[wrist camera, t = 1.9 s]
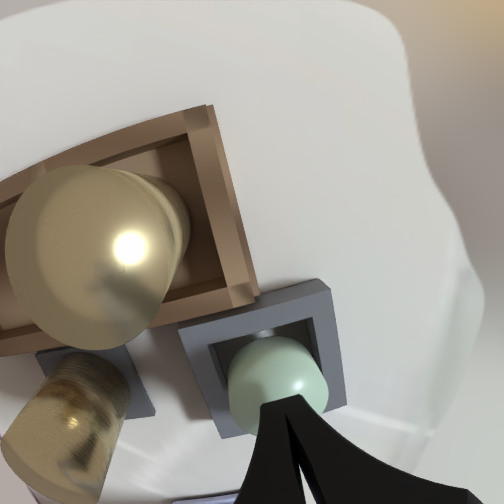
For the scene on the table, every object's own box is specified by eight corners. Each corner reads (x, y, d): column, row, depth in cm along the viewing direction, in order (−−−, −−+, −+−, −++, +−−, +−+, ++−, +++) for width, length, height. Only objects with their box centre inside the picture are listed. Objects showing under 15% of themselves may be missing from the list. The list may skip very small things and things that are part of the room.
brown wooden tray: (258, 290, 13) (265, 307, 11) (4, 348, 13) (-15, 365, 11) (213, 108, 12) (212, 94, 10) (-40, 210, 11) (-65, 214, 9)
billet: (144, 414, 14) (120, 509, 8) (78, 420, 13) (40, 501, 8) (110, 345, 13) (59, 433, 7) (43, 357, 13) (-18, 430, 7)
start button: (319, 394, 13) (333, 422, 11) (240, 416, 13) (244, 446, 11) (306, 325, 12) (321, 348, 10) (216, 349, 12) (216, 377, 10)
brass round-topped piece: (203, 263, 12) (193, 330, 6) (110, 288, 12) (42, 360, 6) (176, 161, 11) (139, 137, 6) (82, 192, 11) (-12, 201, 5)
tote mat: (155, 411, 14) (154, 415, 14) (75, 419, 14) (73, 423, 13) (120, 335, 13) (118, 339, 13) (38, 351, 13) (34, 354, 13)
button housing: (337, 387, 15) (347, 404, 13) (221, 419, 15) (221, 439, 13) (318, 278, 14) (330, 289, 12) (181, 314, 13) (177, 329, 12)
